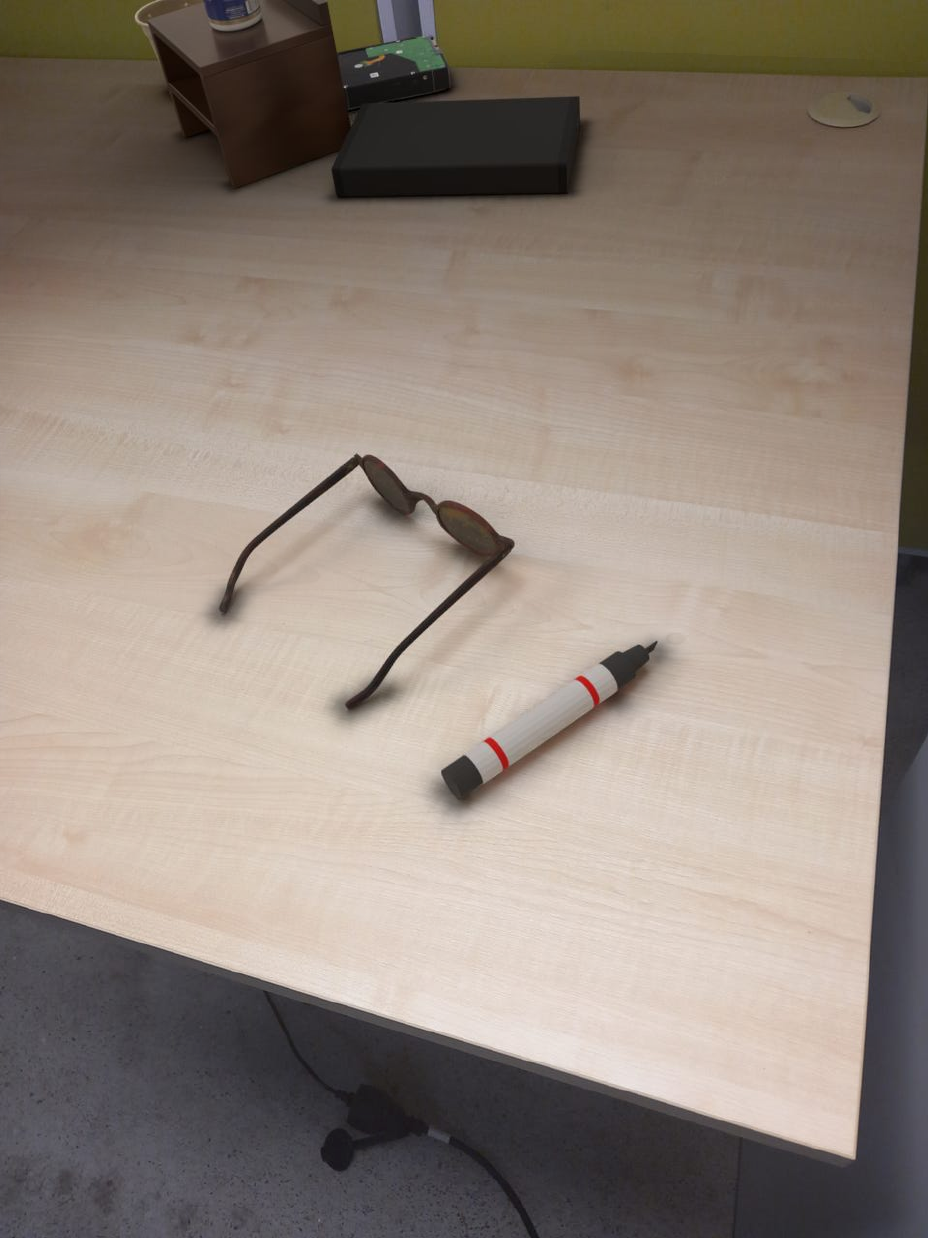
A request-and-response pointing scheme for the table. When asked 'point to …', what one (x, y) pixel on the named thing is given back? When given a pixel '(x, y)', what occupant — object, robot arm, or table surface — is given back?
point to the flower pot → (160, 13)
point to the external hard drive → (459, 147)
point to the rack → (257, 84)
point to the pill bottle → (232, 14)
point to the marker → (543, 720)
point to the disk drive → (393, 71)
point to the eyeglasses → (449, 514)
